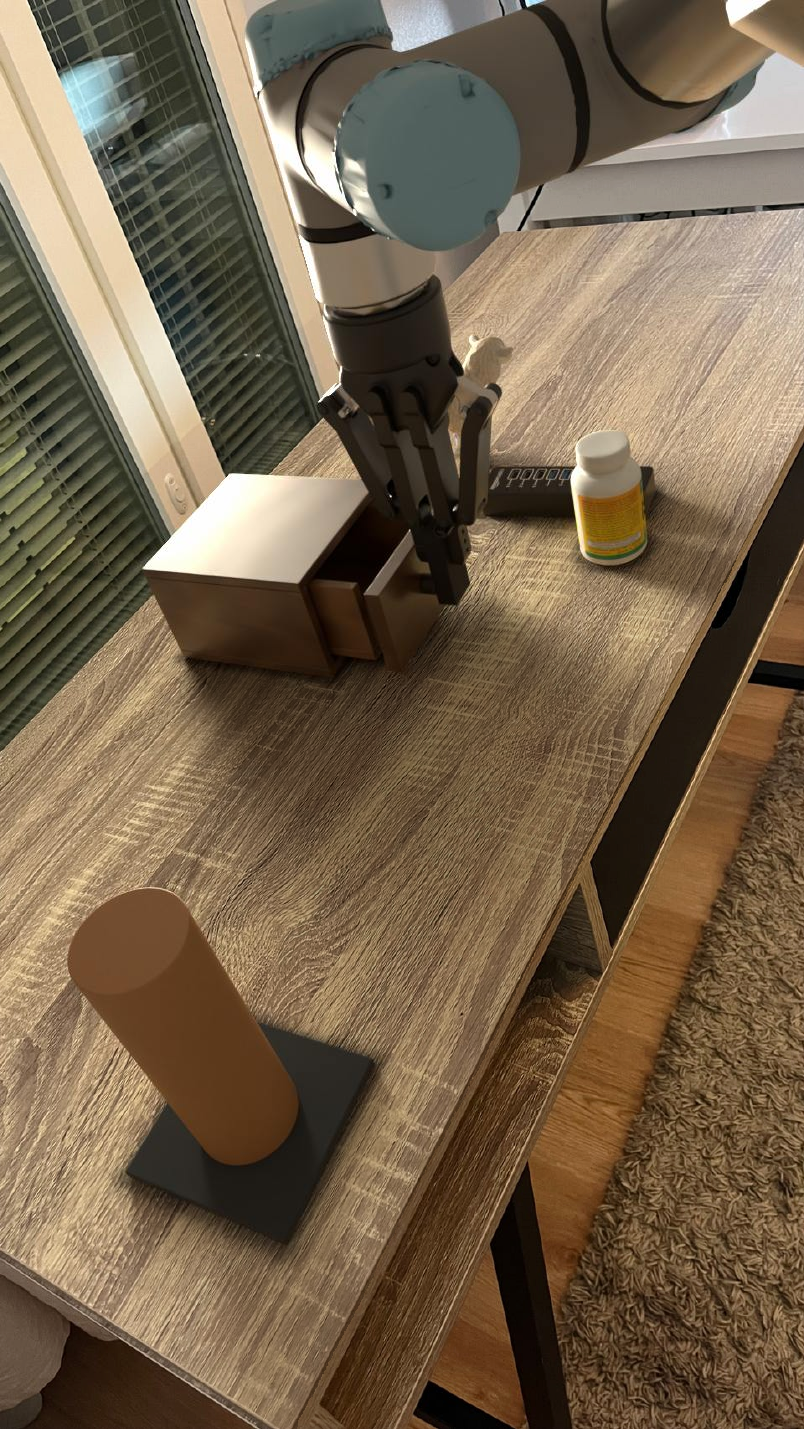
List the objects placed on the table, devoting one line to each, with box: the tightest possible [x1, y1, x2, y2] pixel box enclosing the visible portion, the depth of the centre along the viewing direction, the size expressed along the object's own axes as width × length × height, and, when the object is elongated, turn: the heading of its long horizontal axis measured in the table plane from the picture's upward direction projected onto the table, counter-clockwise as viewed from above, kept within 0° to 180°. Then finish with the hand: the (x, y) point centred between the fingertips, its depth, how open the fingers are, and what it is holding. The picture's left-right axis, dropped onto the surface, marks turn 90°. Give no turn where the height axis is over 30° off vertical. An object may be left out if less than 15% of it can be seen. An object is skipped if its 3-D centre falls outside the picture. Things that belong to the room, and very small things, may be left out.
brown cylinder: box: [66, 886, 299, 1165], centre depth 52 cm, size 6×6×16 cm
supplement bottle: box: [571, 429, 648, 566], centre depth 83 cm, size 5×5×10 cm
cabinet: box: [141, 473, 373, 679], centre depth 87 cm, size 15×14×9 cm
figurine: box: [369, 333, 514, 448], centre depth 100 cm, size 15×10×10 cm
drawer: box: [306, 501, 446, 674], centre depth 84 cm, size 15×12×7 cm
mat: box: [125, 1020, 376, 1245], centre depth 57 cm, size 10×10×1 cm
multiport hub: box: [481, 465, 657, 518], centre depth 92 cm, size 4×14×2 cm, turn 68°
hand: (454, 593), depth 81 cm, fingers closed
